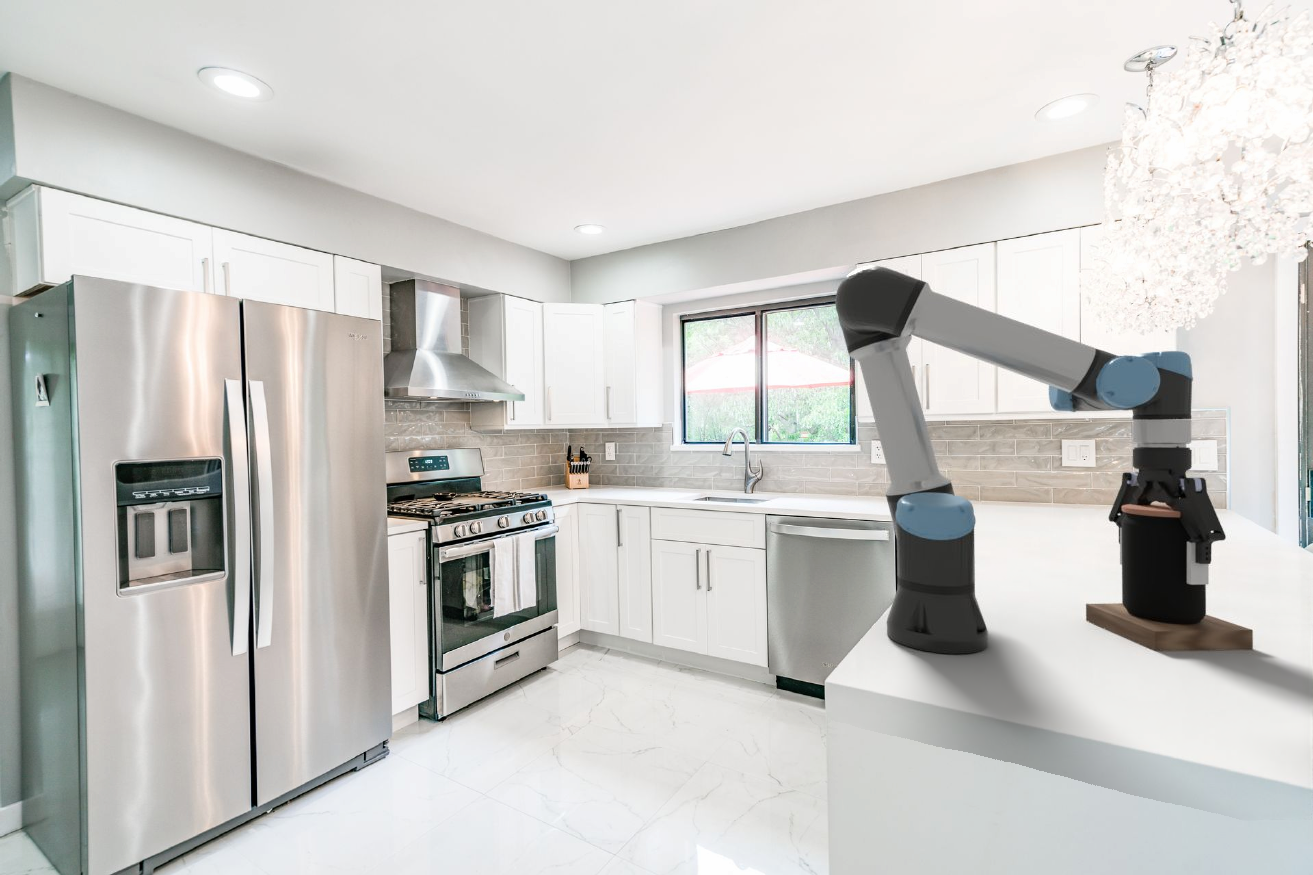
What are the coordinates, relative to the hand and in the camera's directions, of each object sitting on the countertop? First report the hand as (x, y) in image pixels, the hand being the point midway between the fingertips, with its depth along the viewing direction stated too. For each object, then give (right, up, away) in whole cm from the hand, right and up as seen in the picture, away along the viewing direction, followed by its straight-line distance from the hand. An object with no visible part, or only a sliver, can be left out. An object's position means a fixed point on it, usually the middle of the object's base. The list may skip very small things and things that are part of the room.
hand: (1161, 573), depth 101 cm
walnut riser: (0, -10, 0) cm, 10 cm away
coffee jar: (0, -7, 0) cm, 7 cm away
